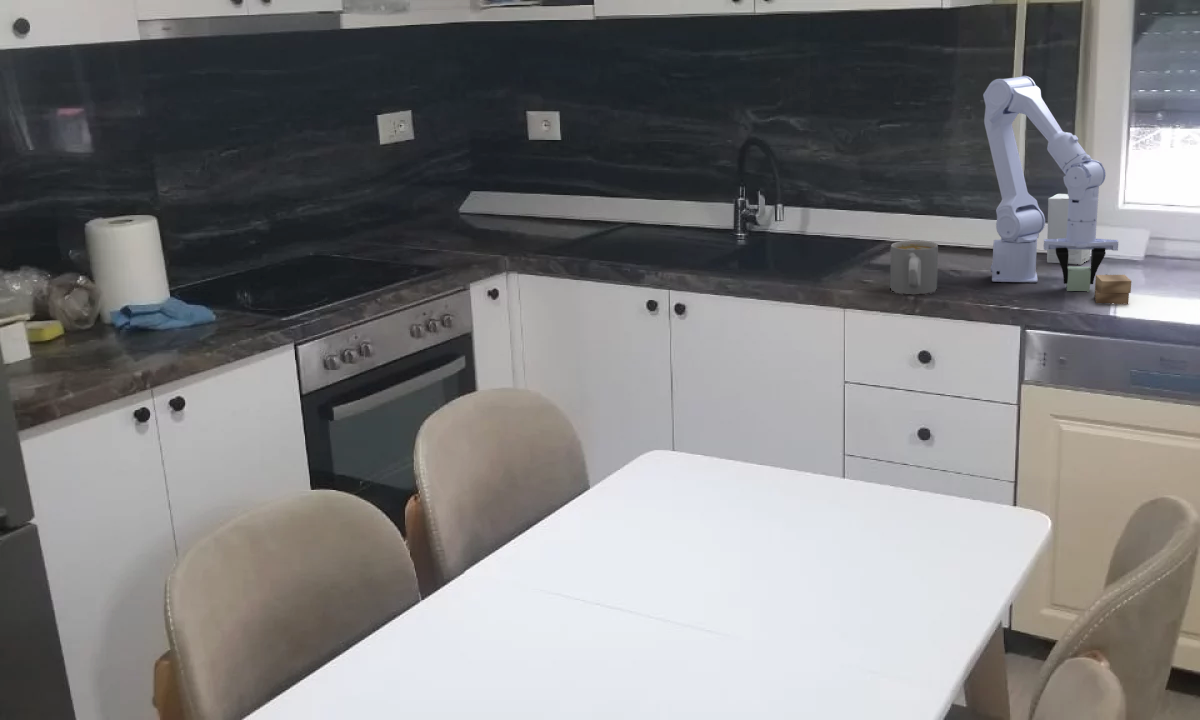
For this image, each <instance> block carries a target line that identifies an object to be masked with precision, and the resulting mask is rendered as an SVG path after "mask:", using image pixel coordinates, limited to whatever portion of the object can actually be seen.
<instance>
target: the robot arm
mask: <svg viewBox="0 0 1200 720" xmlns="http://www.w3.org/2000/svg"><path fill="white" fill-rule="evenodd" d="M982 97H983V101H984V105H985V109H984V117H983V118H984V119H983V122H984V128H985V131H986V137H987V140H988V145H989V148H990V153H991V157H992V158H991V159H992V161H993V166H994V170H995V174H996V178H997V182H998V183H997V184H998V187H999V192H1000V195H1001V201H1000V203H999V204H998V206H997V207H996V210H995V213H996V223H995V229H996V232H997V235H999V237H1000V239H993V247H992V250H993V251H992V263H991V265H990V273H991V282H993V283H995V282H996V283H997V282H998V283H999V282H1001V283H1038V272H1036V271H1037V269H1036V268H1037V250H1038V249H1037V248H1038V239H1039V237H1040V235H1039V234H1040V233H1041V232H1043V230H1044V229H1045V225H1046V218H1045V217H1046V216H1045V214H1044V212H1043V211H1042V210H1041V209H1040V206H1039V204H1038V200H1037V199H1036V198H1035V197H1034V196H1032V195H1031V194H1030V193H1029V192H1028V188H1027V184H1026V179H1025V175H1024V171H1023V167H1022V166H1023V165H1022V163H1021V162H1022V161H1021V157H1020V154H1019V150H1018V149H1019V148H1018V145H1017V141H1016V137H1015V136H1016V135H1015V132H1014V129H1013V123H1014V121H1015V119H1016V118H1017V116H1018V115H1019V114H1021V115H1025V116H1027V118H1028V119H1029V120H1030V122H1031V123H1032V124H1033V125H1034V126H1035V128H1036V129H1037V130H1038V131H1039V132H1040V133H1041V134H1042V136H1043V137H1044V138H1045V139H1046V140H1047V148H1046V150H1047V151H1048V153H1049V155H1050V156H1051V157H1052V158H1053V160H1054V161H1055V163H1056V164H1057V166H1058V167H1059V169H1060V170H1061V171H1062V172H1063V174H1064V176H1063V178H1062V179H1063V183H1064V186H1065V187H1066V189H1067V194H1068V196H1069V203H1068V220H1067V237H1066V238H1063V239H1047V238H1046V239H1045V238H1044V239H1043V250H1044V251H1047V250H1049V249H1055V250H1056V255H1057V257H1058V260H1059V262H1060V263H1059V264H1060V267H1061V271H1062V275H1063V284H1065V285H1066V284H1067V282H1068V272H1067V268H1068V265H1069V264H1068V256H1069V255H1068V249H1080V250H1090V270H1091V277H1090V285H1093V284H1094V280H1095V278H1096V275H1097V274H1096V273H1097V272H1098V269H1099V267H1100V265H1101V263H1102V261H1103V260H1104V258H1105V256H1106V251H1107V250H1109V251H1110V250H1111V251H1114V252H1115V251H1116V252H1117V251H1119V240H1118V239H1108V238H1105V239H1104V238H1096V236H1097V223H1098V222H1097V221H1098V206H1099V193H1100V191H1099V190H1100V186H1102V185H1103V184H1104V182H1105V179H1106V175H1107V173H1106V168H1104V165H1103V163H1102V162H1101V161H1099V160H1097V159H1092V156H1091V155H1090V154H1087V152H1086V151H1085V149H1084V148H1083V147H1082V145H1081V144H1080V143H1079V138H1078V136H1077V135H1076V134H1073V133H1072V132H1066V131H1063V129H1062V128H1061V126H1060V124H1059V123H1058V122H1057V120H1056V119H1055V117H1054V115H1053V114H1052V112H1051V111H1050V109H1049V108H1048V105H1047V104H1046V103H1045V101H1044V99H1043V97H1042V91H1041V88H1040V87H1039V86H1038V85H1036V83H1035V81H1034V80H1033V78H1031V77H1030V76H1027V75H1021V76H1018V77H1009V78H996V79H993V80H992V81H991V82H990V83H989V84H988V86H987V87H986V89H985V91H984V92H983V95H982ZM1071 246H1073V247H1071Z"/></svg>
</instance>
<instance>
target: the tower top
mask: <svg viewBox="0 0 1200 720" xmlns="http://www.w3.org/2000/svg"><path fill="white" fill-rule="evenodd" d="M1094 280H1095V283H1094V288H1095V287H1096V288H1097V289H1098V291H1099V292H1100V293H1129V294H1131V293H1132V291H1131V290H1132V283H1133V282H1132V280H1131V279H1130V278H1129V277H1128V276H1127V275H1126V274H1095V279H1094Z"/></svg>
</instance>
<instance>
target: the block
mask: <svg viewBox="0 0 1200 720" xmlns="http://www.w3.org/2000/svg"><path fill="white" fill-rule="evenodd" d="M1090 268H1091V266H1070V265H1069V266H1068V268H1067V272H1068V282H1067V284H1065V285H1066V287H1067V288H1066V292H1067V291H1087V292H1086V293H1090V292H1091V289H1090V288H1091V284H1090V277H1091V270H1090Z"/></svg>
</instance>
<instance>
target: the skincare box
mask: <svg viewBox="0 0 1200 720" xmlns="http://www.w3.org/2000/svg"><path fill="white" fill-rule="evenodd" d="M1047 201H1048V202H1047V238H1046V239H1063V238H1066V237H1067V220H1068V203H1069V196H1068V193H1057V194H1055V195H1053V196H1051V197H1048V199H1047ZM1071 247H1073V246H1071ZM1046 251H1047V252H1046V262H1047V263H1049V264H1050V263H1051V264H1060V262H1059V260H1058V257H1057V255H1056V250H1055V249H1049V250H1046ZM1068 255H1069V256H1068V265H1077V264H1078V265H1079V266H1081V265H1083V264H1085V263H1086V261H1087V262H1088V261H1090V260H1091V250H1080V249H1068ZM1084 262H1085V263H1084Z"/></svg>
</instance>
